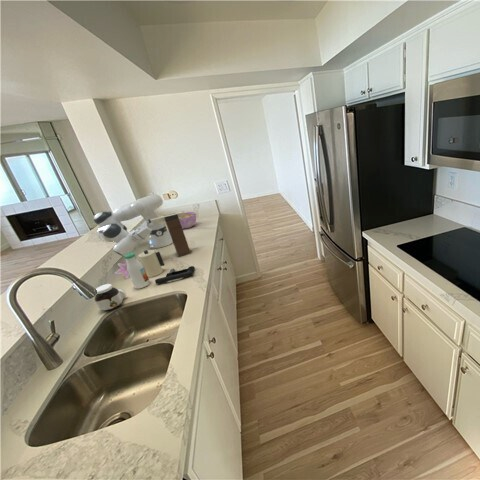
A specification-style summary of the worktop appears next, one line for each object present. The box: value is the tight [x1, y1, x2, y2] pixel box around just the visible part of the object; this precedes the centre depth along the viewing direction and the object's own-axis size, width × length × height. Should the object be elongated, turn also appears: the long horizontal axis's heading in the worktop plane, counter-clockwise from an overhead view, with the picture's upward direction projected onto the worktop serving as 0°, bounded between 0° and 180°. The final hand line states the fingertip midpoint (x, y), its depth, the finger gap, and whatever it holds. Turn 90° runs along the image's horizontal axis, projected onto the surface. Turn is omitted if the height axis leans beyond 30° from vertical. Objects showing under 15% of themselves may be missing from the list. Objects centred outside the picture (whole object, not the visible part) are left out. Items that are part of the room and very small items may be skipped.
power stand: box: [164, 212, 191, 258], centre depth 185 cm, size 10×8×29 cm
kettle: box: [136, 249, 165, 278], centre depth 162 cm, size 14×9×16 cm, turn 125°
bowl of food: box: [179, 211, 197, 230], centre depth 246 cm, size 20×20×12 cm
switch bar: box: [148, 210, 186, 224], centre depth 179 cm, size 3×22×3 cm, turn 125°
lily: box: [114, 259, 130, 279], centre depth 166 cm, size 12×12×10 cm
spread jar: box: [94, 283, 127, 312], centre depth 135 cm, size 12×11×12 cm
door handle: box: [154, 265, 195, 285], centre depth 159 cm, size 3×20×16 cm
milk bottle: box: [124, 252, 151, 290], centre depth 149 cm, size 8×8×20 cm
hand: (154, 220), depth 175 cm, fingers closed on switch bar, 3 cm apart
